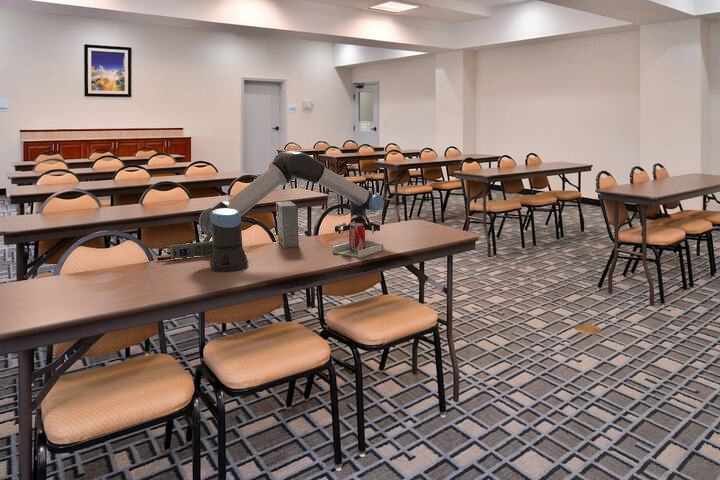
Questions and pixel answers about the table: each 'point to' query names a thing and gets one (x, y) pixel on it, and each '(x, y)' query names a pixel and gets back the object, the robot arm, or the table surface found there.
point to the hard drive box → (287, 224)
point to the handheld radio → (189, 250)
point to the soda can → (356, 237)
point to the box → (369, 249)
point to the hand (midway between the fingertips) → (357, 231)
